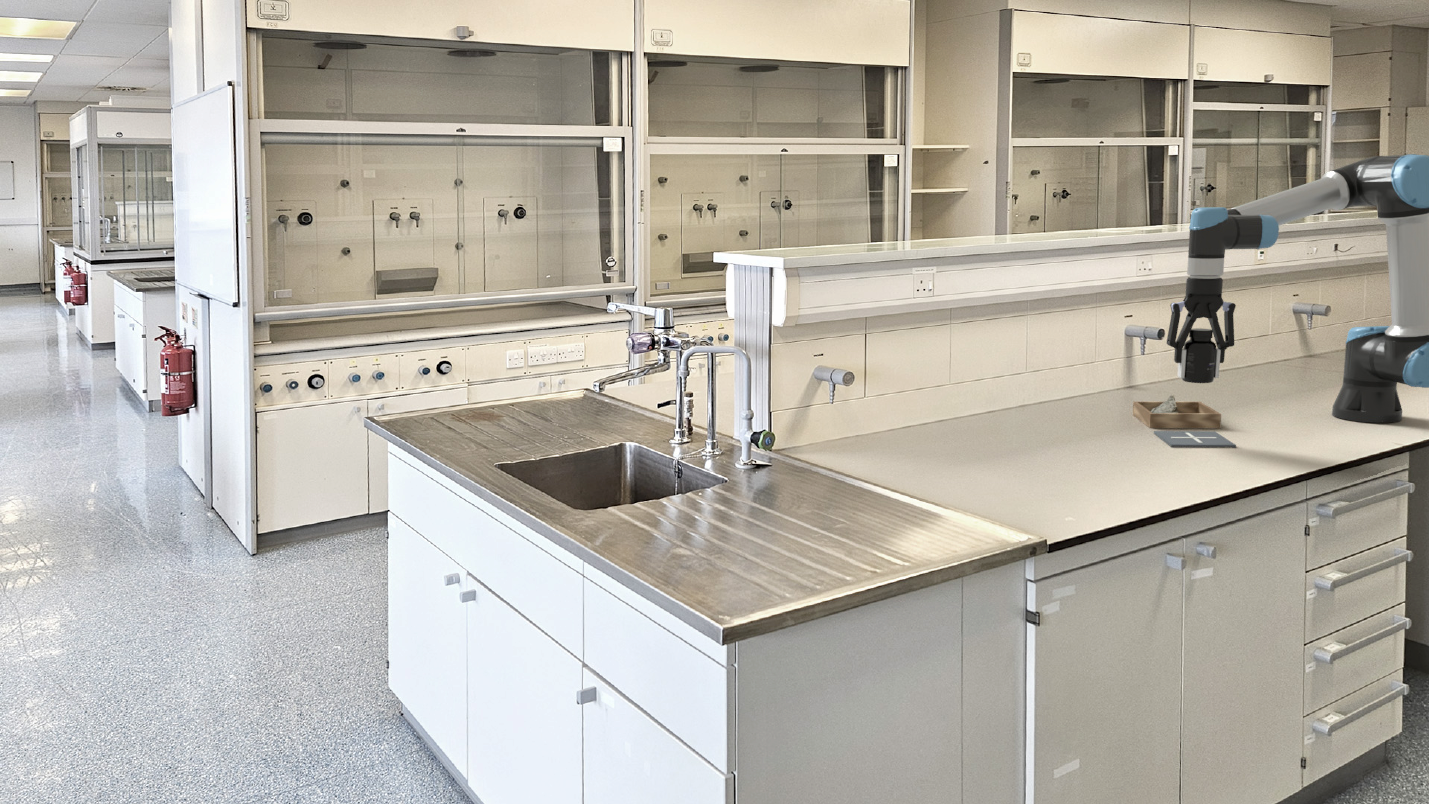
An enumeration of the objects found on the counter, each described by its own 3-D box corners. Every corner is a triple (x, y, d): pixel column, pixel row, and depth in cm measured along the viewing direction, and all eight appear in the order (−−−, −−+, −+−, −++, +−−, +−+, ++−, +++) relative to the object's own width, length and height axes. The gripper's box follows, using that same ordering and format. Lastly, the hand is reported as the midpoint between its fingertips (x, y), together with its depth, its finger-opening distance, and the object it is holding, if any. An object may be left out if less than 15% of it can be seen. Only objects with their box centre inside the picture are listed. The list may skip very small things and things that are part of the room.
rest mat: (1214, 433, 261) (1215, 430, 261) (1235, 447, 248) (1236, 444, 247) (1153, 433, 263) (1153, 430, 263) (1171, 447, 249) (1171, 444, 249)
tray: (1199, 415, 282) (1200, 401, 281) (1220, 428, 267) (1221, 414, 266) (1132, 414, 284) (1133, 401, 283) (1149, 427, 269) (1150, 413, 268)
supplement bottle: (1217, 384, 249) (1220, 331, 246) (1184, 383, 250) (1188, 331, 248) (1209, 378, 255) (1213, 327, 253) (1178, 378, 256) (1181, 327, 254)
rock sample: (1134, 400, 283) (1163, 381, 278) (1154, 417, 285) (1183, 398, 280) (1140, 425, 275) (1169, 405, 270) (1160, 442, 277) (1190, 423, 272)
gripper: (1244, 274, 250) (1237, 374, 255) (1154, 275, 253) (1148, 374, 257) (1256, 277, 243) (1248, 379, 248) (1164, 278, 245) (1158, 379, 250)
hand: (1197, 376), depth 252 cm, fingers closed on supplement bottle, 7 cm apart
